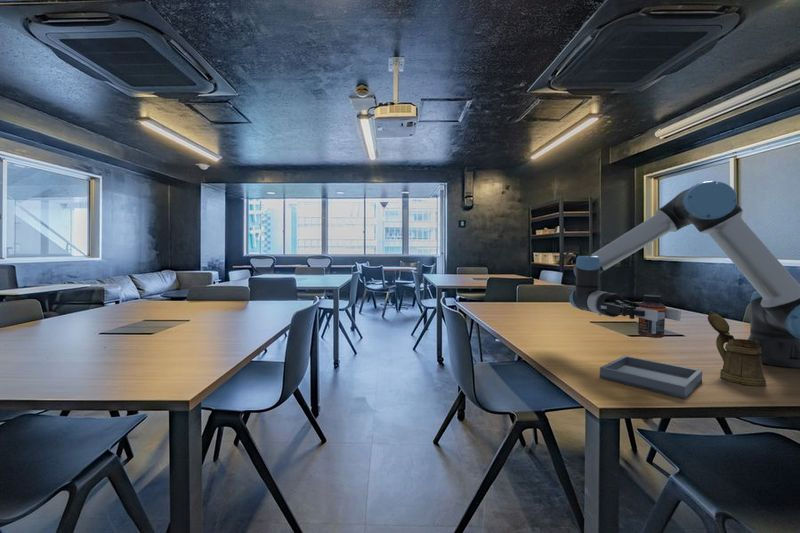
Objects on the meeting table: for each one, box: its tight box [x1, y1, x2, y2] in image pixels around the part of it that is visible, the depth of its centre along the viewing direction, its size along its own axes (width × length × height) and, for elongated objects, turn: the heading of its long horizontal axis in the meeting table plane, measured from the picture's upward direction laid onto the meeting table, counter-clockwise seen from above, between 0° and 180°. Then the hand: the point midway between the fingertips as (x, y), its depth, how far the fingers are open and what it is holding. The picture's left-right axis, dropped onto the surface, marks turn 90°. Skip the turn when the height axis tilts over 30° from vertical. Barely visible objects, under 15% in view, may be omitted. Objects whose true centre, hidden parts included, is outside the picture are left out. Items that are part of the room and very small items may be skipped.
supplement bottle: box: [637, 294, 666, 339], centre depth 98 cm, size 6×6×11 cm
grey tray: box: [599, 355, 703, 400], centre depth 98 cm, size 19×19×3 cm
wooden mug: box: [707, 310, 767, 387], centre depth 100 cm, size 9×14×18 cm, turn 11°
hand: (667, 315), depth 93 cm, fingers closed on supplement bottle, 6 cm apart
